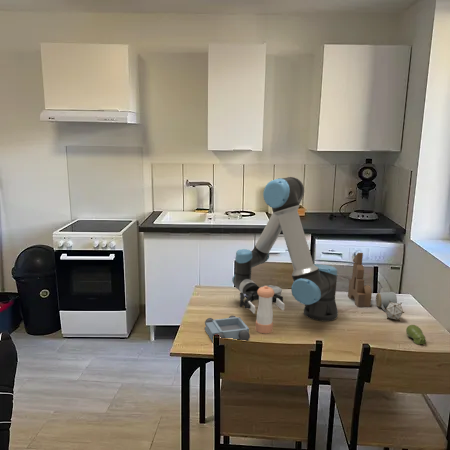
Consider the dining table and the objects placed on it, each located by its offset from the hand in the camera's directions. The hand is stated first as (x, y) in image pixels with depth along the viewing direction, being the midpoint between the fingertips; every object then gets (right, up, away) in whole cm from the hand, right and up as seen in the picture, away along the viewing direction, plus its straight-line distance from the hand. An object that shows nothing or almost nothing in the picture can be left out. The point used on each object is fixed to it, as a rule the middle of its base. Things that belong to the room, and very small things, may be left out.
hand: (269, 308), depth 174 cm
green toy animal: (+59, -13, 0) cm, 61 cm away
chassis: (-17, -11, +1) cm, 20 cm away
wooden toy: (+48, -4, +40) cm, 63 cm away
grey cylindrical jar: (+59, -6, +32) cm, 68 cm away
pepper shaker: (-1, -10, +6) cm, 12 cm away
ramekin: (+5, -3, +40) cm, 41 cm away
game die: (+58, -9, +20) cm, 62 cm away
